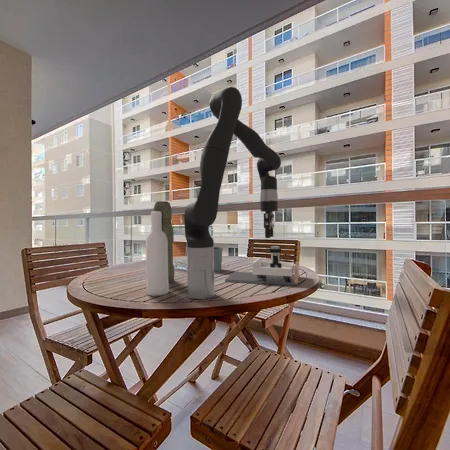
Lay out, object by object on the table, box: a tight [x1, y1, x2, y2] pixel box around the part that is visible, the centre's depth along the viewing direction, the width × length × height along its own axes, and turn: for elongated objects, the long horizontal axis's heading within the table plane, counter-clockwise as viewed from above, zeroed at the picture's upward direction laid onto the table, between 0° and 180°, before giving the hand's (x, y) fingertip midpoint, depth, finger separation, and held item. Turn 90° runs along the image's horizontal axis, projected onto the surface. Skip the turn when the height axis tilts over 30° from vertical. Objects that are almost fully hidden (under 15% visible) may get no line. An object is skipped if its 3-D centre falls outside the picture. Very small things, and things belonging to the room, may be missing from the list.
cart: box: [251, 257, 295, 280], centre depth 112 cm, size 16×16×7 cm
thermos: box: [153, 200, 175, 284], centre depth 111 cm, size 9×12×35 cm
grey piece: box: [224, 261, 300, 287], centre depth 114 cm, size 17×30×7 cm, turn 72°
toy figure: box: [268, 245, 282, 268], centre depth 112 cm, size 7×5×10 cm
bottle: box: [145, 211, 170, 297], centre depth 94 cm, size 8×8×30 cm
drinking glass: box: [214, 246, 224, 273], centre depth 137 cm, size 10×10×12 cm
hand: (269, 237), depth 113 cm, fingers open, 8 cm apart
